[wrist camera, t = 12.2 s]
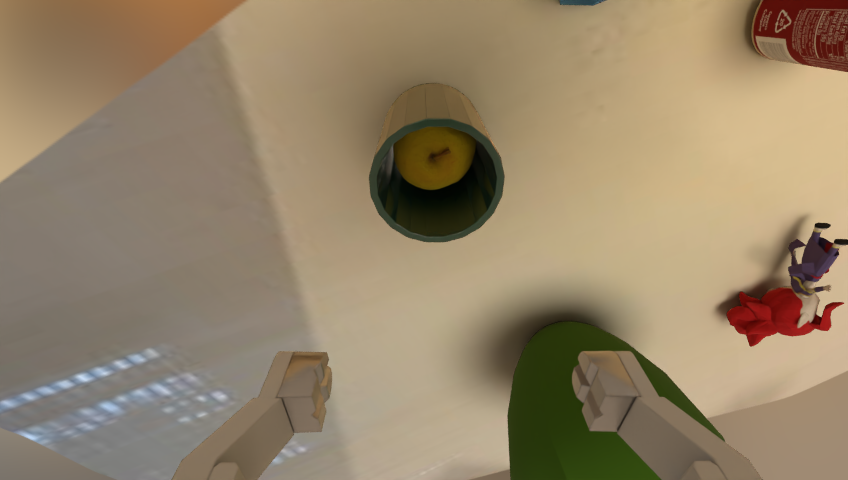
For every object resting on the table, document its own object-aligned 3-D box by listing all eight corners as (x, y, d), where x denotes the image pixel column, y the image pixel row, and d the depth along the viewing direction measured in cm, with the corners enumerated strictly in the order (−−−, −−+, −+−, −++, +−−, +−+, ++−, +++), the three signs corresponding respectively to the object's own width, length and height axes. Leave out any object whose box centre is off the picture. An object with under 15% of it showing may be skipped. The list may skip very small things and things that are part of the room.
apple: (473, 94, 30) (488, 121, 24) (465, 167, 34) (476, 208, 27) (396, 91, 30) (389, 117, 23) (396, 165, 34) (390, 205, 27)
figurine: (850, 214, 37) (789, 319, 45) (750, 216, 39) (710, 315, 47) (903, 252, 32) (824, 362, 40) (785, 252, 34) (733, 357, 42)
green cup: (381, 82, 30) (363, 118, 21) (484, 83, 30) (512, 118, 21) (386, 179, 35) (374, 242, 26) (476, 179, 35) (496, 242, 26)
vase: (643, 269, 41) (860, 531, 21) (634, 375, 52) (774, 619, 31) (473, 303, 44) (519, 565, 23) (497, 397, 54) (544, 635, 34)
